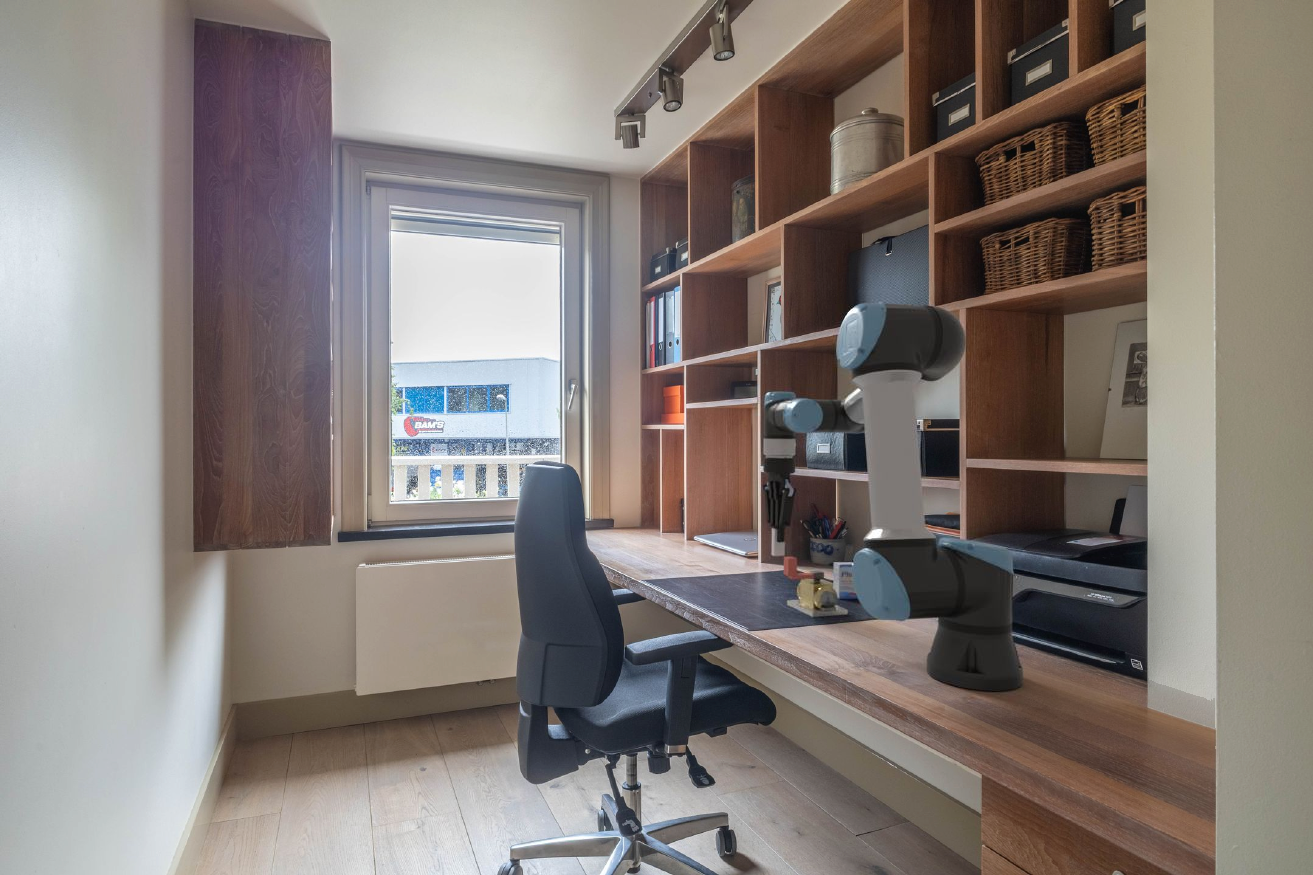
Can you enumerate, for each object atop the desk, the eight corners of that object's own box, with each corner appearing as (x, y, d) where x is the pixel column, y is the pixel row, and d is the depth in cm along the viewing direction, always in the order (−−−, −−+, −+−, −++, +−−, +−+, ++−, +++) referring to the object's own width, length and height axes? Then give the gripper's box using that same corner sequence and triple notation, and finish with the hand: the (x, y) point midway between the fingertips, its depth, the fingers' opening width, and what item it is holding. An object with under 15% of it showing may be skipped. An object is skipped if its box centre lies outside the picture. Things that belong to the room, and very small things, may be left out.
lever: (826, 579, 170) (826, 557, 170) (789, 581, 167) (789, 558, 167) (819, 576, 173) (819, 554, 173) (782, 578, 170) (782, 556, 170)
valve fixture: (847, 614, 167) (847, 583, 167) (812, 616, 164) (812, 585, 164) (820, 602, 178) (820, 573, 178) (787, 604, 176) (787, 575, 176)
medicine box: (838, 599, 182) (839, 564, 182) (832, 595, 186) (833, 561, 186) (869, 598, 183) (869, 564, 182) (862, 595, 187) (863, 561, 187)
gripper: (807, 457, 169) (805, 559, 170) (780, 455, 182) (779, 549, 182) (777, 458, 167) (776, 560, 168) (753, 455, 180) (752, 551, 180)
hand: (777, 555), depth 175 cm, fingers closed
